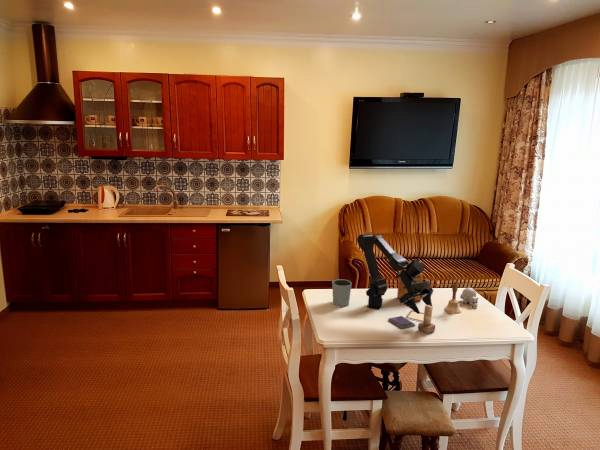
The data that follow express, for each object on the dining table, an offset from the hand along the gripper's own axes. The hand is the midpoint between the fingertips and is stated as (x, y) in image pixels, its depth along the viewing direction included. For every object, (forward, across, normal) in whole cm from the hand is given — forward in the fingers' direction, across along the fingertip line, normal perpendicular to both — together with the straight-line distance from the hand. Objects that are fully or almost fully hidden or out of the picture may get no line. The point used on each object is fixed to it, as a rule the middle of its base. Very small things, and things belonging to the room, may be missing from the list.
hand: (425, 311), depth 206 cm
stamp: (+7, 0, +5) cm, 9 cm away
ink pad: (-1, -4, +14) cm, 14 cm away
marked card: (-2, +10, +14) cm, 17 cm away
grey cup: (-25, -13, +37) cm, 47 cm away
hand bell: (+2, +32, +12) cm, 34 cm away
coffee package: (-14, +24, +27) cm, 39 cm away
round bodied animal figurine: (+1, +48, +12) cm, 49 cm away
